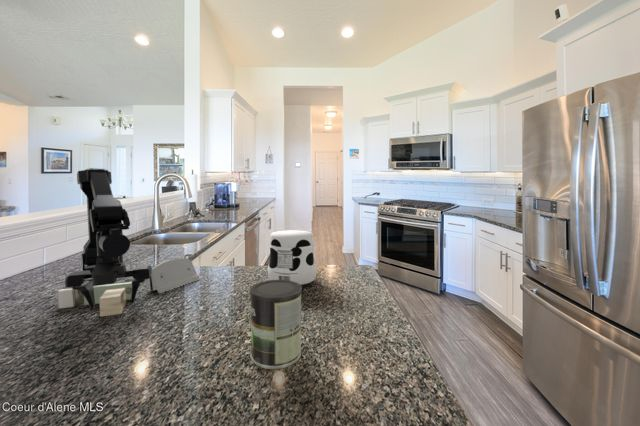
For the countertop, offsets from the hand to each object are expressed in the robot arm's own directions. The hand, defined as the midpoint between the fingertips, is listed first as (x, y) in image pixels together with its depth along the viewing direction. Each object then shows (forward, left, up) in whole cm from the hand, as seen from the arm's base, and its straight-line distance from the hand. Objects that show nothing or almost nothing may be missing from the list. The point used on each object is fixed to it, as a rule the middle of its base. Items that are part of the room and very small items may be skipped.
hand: (113, 305), depth 81 cm
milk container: (-3, +53, -2) cm, 53 cm away
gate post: (-8, -10, -1) cm, 13 cm away
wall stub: (-8, -13, -1) cm, 15 cm away
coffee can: (+39, +36, -2) cm, 53 cm away
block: (0, 0, -2) cm, 2 cm away
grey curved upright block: (-17, +14, -2) cm, 22 cm away
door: (-7, -2, -1) cm, 8 cm away
